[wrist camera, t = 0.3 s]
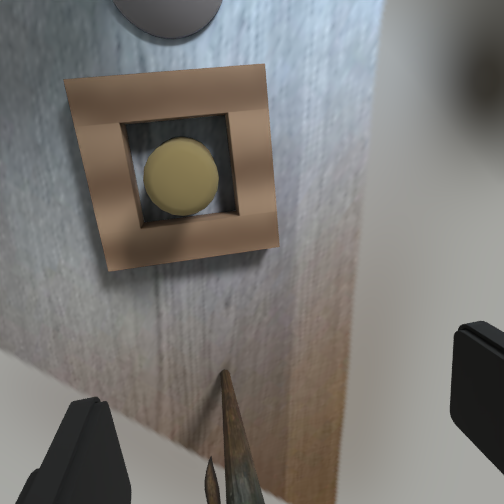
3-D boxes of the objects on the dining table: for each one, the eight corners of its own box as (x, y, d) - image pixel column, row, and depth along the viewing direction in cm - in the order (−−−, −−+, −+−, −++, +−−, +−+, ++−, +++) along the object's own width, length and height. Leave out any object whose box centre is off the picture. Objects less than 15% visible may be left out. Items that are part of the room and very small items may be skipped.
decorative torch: (253, 344, 41) (397, 800, 12) (253, 394, 43) (377, 889, 14) (192, 349, 40) (199, 860, 11) (195, 401, 42) (206, 947, 13)
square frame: (75, 85, 31) (63, 79, 28) (258, 70, 33) (264, 63, 30) (115, 261, 36) (108, 271, 33) (272, 238, 38) (279, 246, 35)
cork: (179, 214, 35) (175, 243, 25) (137, 163, 33) (113, 172, 23) (228, 175, 35) (244, 189, 25) (188, 122, 33) (187, 113, 23)
